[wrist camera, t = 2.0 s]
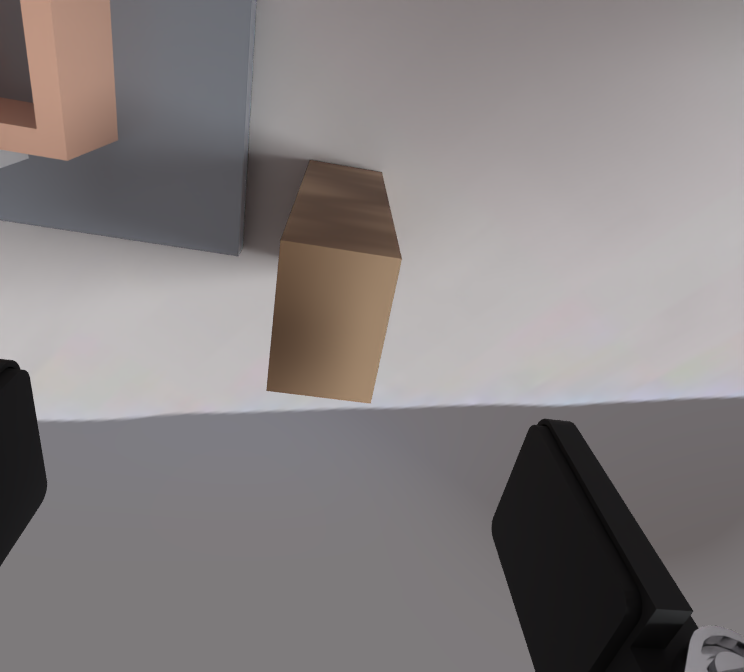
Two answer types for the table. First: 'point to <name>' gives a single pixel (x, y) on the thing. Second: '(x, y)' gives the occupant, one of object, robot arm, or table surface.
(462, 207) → the table surface
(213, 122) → the square base with socket
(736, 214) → the table surface
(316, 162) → the wooden rectangular block
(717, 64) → the table surface
